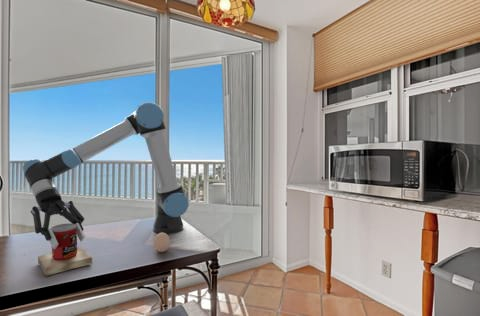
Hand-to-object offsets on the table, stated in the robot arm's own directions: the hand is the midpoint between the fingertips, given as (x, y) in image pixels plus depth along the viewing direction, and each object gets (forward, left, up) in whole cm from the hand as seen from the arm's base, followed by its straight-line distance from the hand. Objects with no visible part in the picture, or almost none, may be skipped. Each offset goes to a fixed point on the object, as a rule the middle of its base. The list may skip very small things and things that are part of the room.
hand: (69, 242), depth 98 cm
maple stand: (+1, -3, -9) cm, 9 cm away
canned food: (+1, -3, -6) cm, 7 cm away
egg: (-31, +9, -9) cm, 34 cm away
